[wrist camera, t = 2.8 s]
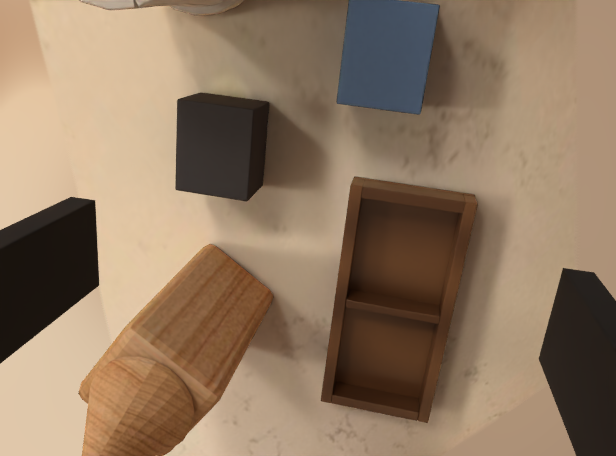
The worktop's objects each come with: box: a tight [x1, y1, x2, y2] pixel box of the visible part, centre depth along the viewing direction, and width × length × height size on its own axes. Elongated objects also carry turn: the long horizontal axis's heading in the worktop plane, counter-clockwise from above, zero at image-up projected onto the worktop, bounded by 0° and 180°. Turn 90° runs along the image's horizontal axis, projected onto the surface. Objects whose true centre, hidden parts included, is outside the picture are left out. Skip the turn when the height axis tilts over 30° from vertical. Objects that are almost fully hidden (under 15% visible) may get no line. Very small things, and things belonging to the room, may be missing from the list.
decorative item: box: [79, 244, 273, 456], centre depth 34 cm, size 7×7×20 cm
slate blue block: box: [337, 0, 440, 115], centre depth 33 cm, size 6×5×4 cm
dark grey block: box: [176, 93, 269, 201], centre depth 37 cm, size 6×5×4 cm
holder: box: [321, 177, 477, 423], centre depth 40 cm, size 17×8×2 cm, turn 174°
